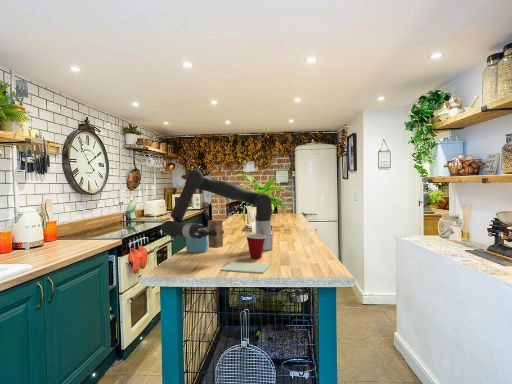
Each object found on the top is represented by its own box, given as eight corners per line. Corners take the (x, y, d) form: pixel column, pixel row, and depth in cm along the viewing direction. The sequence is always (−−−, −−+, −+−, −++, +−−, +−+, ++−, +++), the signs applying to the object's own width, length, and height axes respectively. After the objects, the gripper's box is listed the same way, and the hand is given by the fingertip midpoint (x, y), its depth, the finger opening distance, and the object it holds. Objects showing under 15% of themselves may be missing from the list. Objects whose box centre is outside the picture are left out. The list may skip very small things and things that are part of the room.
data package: (208, 250, 190) (207, 230, 189) (206, 252, 185) (206, 231, 185) (188, 250, 191) (188, 230, 190) (186, 252, 186) (185, 231, 186)
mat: (220, 270, 146) (220, 269, 146) (231, 263, 159) (231, 261, 159) (263, 273, 140) (263, 272, 140) (270, 265, 153) (270, 264, 153)
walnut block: (208, 247, 157) (207, 220, 156) (215, 245, 161) (214, 219, 161) (216, 248, 154) (216, 221, 154) (223, 246, 159) (222, 220, 158)
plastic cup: (264, 260, 164) (264, 237, 163) (244, 259, 166) (243, 236, 166) (268, 255, 174) (267, 233, 174) (248, 255, 176) (248, 233, 176)
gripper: (183, 225, 159) (210, 227, 150) (202, 221, 171) (228, 223, 162) (183, 240, 159) (210, 243, 150) (202, 235, 171) (228, 238, 162)
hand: (219, 232), depth 156 cm, fingers closed on walnut block, 5 cm apart
